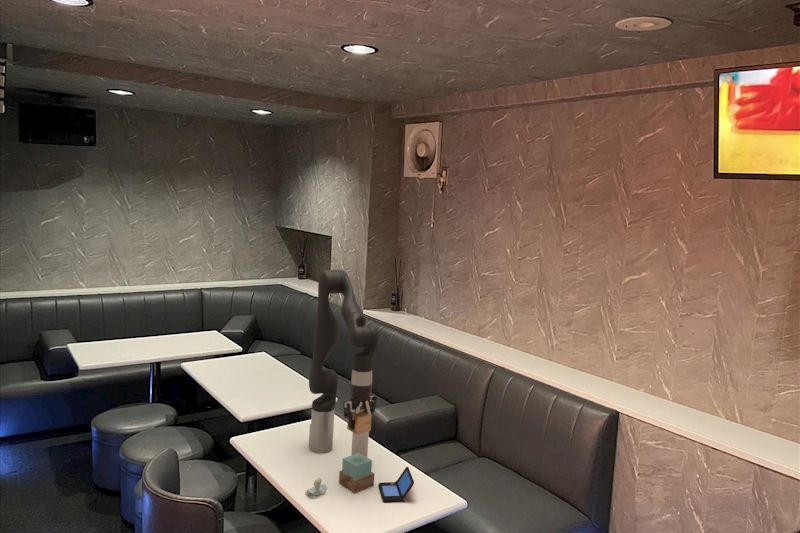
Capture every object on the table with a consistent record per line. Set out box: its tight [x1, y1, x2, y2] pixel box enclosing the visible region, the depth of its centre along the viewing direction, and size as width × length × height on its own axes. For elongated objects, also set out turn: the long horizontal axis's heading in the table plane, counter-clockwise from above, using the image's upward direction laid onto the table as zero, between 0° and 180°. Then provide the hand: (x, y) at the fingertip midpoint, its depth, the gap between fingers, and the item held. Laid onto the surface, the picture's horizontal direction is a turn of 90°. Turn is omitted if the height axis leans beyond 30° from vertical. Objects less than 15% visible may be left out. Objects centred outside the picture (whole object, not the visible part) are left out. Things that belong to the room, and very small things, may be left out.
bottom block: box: [338, 469, 375, 494], centre depth 204 cm, size 9×9×5 cm
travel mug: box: [350, 431, 370, 458], centre depth 219 cm, size 6×7×20 cm
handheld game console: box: [377, 466, 415, 504], centre depth 199 cm, size 12×11×7 cm
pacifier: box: [305, 477, 328, 497], centre depth 196 cm, size 7×6×6 cm
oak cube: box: [346, 409, 373, 435], centre depth 201 cm, size 6×6×6 cm
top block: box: [341, 453, 373, 480], centre depth 203 cm, size 8×8×5 cm
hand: (358, 426), depth 202 cm, fingers closed on oak cube, 6 cm apart
